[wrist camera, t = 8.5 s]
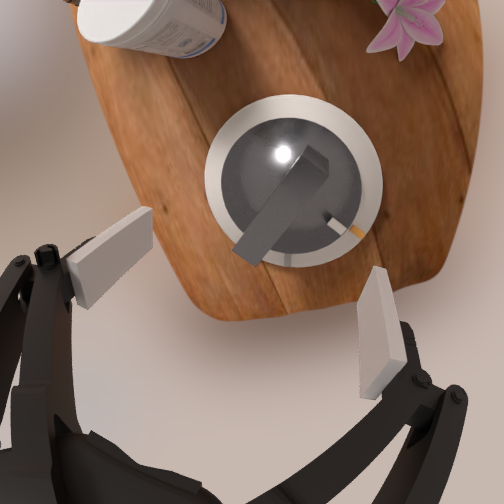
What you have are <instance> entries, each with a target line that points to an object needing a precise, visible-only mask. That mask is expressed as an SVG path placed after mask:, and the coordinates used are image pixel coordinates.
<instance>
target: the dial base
mask: <svg viewBox="0 0 504 504" xmlns="http://www.w3.org/2000/svg"><path fill="white" fill-rule="evenodd" d="M277 118H300V119H306V120H309V121H312V122H316V123H318V124H320V125H322V126H324V127H326V128H327V129H329V130H330V131H332V132H333V133H334V134H336V135H337V136H338V137H339V138H340V139H341V140H342V141H343V142H344V143H345V145H346V146H347V147H348V149H349V150H350V152H351V153H352V155H353V157H354V159H355V161H356V163H357V165H358V169H359V172H360V177H361V183H362V194H361V202H360V206H359V210H358V212H357V214H356V217H355V219H354V220H353V222H352V224H351V226H350V227H349V228H348V229H347V231H346V232H345V233H344V234H343V235H342V236H341V237H340V238H339V239H337V240H336V241H335V242H333V243H332V244H330V245H328V246H326V247H324V248H322V249H319V250H317V251H313V252H309V253H302V254H288V253H281V252H276V251H273V250H269V251H268V253H267V254H266V255H265V256H264V257H263V259H262V260H263V261H266V262H269V263H272V264H275V265H280V266H284V267H310V266H315V265H320V264H323V263H327V262H330V261H332V260H334V259H336V258H339V257H340V256H342V255H344V254H345V253H347V252H348V251H350V250H351V249H352V248H353V247H355V246H356V245H357V244H358V243H359V242H360V241H361V240H362V239H363V238H364V237H365V235H366V234H367V232H368V231H369V230H370V228H371V226H372V224H373V223H374V221H375V219H376V216H377V214H378V211H379V208H380V204H381V199H382V190H383V180H382V170H381V166H380V161H379V158H378V156H377V153H376V150H375V148H374V146H373V144H372V142H371V141H370V139H369V137H368V136H367V134H366V133H365V132H364V130H363V129H362V128H361V127H360V126H359V125H358V124H357V122H356V121H355V120H354V119H353V118H351V117H350V116H349V115H347V114H346V113H345V112H344V111H342V110H341V109H339V108H337V107H335V106H334V105H332V104H330V103H327V102H325V101H322V100H320V99H317V98H313V97H309V96H303V95H293V94H292V95H277V96H272V97H267V98H264V99H261V100H258V101H255V102H253V103H251V104H249V105H247V106H245V107H244V108H242V109H241V110H239V111H238V112H236V113H235V114H234V115H233V116H232V117H231V118H230V119H228V120H227V121H226V123H225V124H224V125H223V126H222V127H221V129H220V130H219V132H218V133H217V135H216V136H215V138H214V140H213V142H212V144H211V147H210V149H209V152H208V156H207V160H206V166H205V188H206V195H207V199H208V202H209V205H210V208H211V210H212V213H213V215H214V217H215V219H216V220H217V222H218V224H219V225H220V227H221V228H222V230H223V231H224V232H225V233H226V234H227V236H228V237H229V238H230V239H231V240H232V241H233V242H234V243H237V242H238V240H239V239H240V238H241V236H242V235H243V232H242V231H241V230H240V229H239V228H238V227H237V226H236V225H235V223H234V222H233V220H232V219H231V217H230V215H229V214H228V211H227V209H226V207H225V204H224V201H223V197H222V191H221V175H222V169H223V165H224V162H225V159H226V156H227V154H228V153H229V151H230V149H231V147H232V146H233V145H234V143H235V142H236V141H237V140H238V139H239V138H240V137H241V136H242V135H243V134H244V133H245V132H247V131H248V130H249V129H251V128H252V127H254V126H256V125H258V124H260V123H263V122H265V121H268V120H272V119H277Z"/></svg>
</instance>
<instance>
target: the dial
mask: <svg viewBox="0 0 504 504" xmlns="http://www.w3.org/2000/svg"><path fill="white" fill-rule="evenodd" d="M221 191H222V197H223V201H224V204H225V207H226V209H227V211H228V214H229V215H230V217H231V219H232V220H233V222H234V223H235V225H236V226H237V227H238V228H239V229H240V230H241V231H242V232H243V235H242V236H241V238H240V239H239V240H238V242H237V243H236V245H235V246H234V248H233V249H232V251H233V252H235V253H236V254H238V255H239V256H240V257H242V258H243V259H245V260H246V261H248V262H249V263H250V264H252V265H253V266H255V267H256V266H257V265H258V264H259V262H260V261H261V260H262V259H263V257H264V256H265V255H266V254H267V253H268V251H269V250H273V251H276V252H281V253H288V254H302V253H309V252H313V251H317V250H319V249H322V248H324V247H326V246H328V245H330V244H332V243H333V242H335V241H336V240H337V239H339V238H340V237H341V236H342V235H343V234H344V233H345V232H346V231H347V229H348V228H349V227H350V226H351V224H352V222H353V220H354V219H355V217H356V214H357V212H358V210H359V206H360V202H361V194H362V183H361V177H360V172H359V169H358V165H357V163H356V161H355V159H354V157H353V155H352V153H351V152H350V150H349V149H348V147H347V146H346V145H345V143H344V142H343V141H342V140H341V139H340V138H339V137H338V136H337V135H336V134H334V133H333V132H332V131H330V130H329V129H327V128H326V127H324V126H322V125H320V124H318V123H316V122H312V121H309V120H306V119H300V118H277V119H272V120H268V121H265V122H263V123H260V124H258V125H256V126H254V127H252V128H251V129H249V130H248V131H247V132H245V133H244V134H243V135H242V136H241V137H240V138H239V139H238V140H237V141H236V142H235V143H234V145H233V146H232V147H231V149H230V151H229V153H228V154H227V156H226V159H225V162H224V165H223V169H222V175H221Z"/></svg>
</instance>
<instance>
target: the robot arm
mask: <svg viewBox="0 0 504 504" xmlns="http://www.w3.org/2000/svg"><path fill="white" fill-rule="evenodd" d="M152 239H153V238H152V208H149V207H144V206H141V207H140V208H139V209H136V210H135V211H133V212H132V213H130V214H129V215H128V216H126V217H124V218H123V219H121V220H120V221H118V222H117V223H115V224H114V225H112V226H111V227H109V228H108V229H106V230H105V231H103V232H102V233H101V234H99V235H98V236H95V237H92V238H90V239H87V240H86V241H84V242H83V243H82V244H81V245H79V246H77V247H76V249H73V250H72V251H70V252H69V253H68V254H66V255H65V256H64V257H63V258H61V259H60V257H59V252H58V247H57V246H56V245H53V244H46V245H43V246H41V247H39V248H38V249H36V251H35V252H34V254H35V258H36V262H37V265H33V264H31V260H30V257H29V256H27V255H20V256H17V257H16V258H14V259H13V260H12V261H11V262H10V264H9V265H8V266H7V268H6V269H5V271H4V272H3V274H2V275H1V277H0V425H1V422H2V419H3V415H4V412H5V408H6V403H7V399H8V395H9V392H10V388H11V384H12V381H13V378H14V374H15V371H16V368H17V365H18V362H19V359H20V356H21V365H20V379H19V385H18V386H13V388H12V391H11V442H12V448H7V449H3V450H0V504H222V503H221V501H220V500H219V499H218V498H217V497H216V496H215V495H213V494H212V493H211V492H209V491H208V490H207V489H205V488H203V487H202V482H200V481H197V480H194V479H191V478H188V477H186V476H183V475H180V474H178V473H175V472H173V471H168V470H163V469H157V468H153V467H147V466H143V465H140V464H138V463H136V462H135V461H134V460H133V459H131V458H130V457H129V456H128V455H127V454H126V453H124V452H123V451H122V450H121V449H120V448H119V447H118V446H116V445H115V444H113V443H112V442H110V441H109V440H107V439H105V438H103V437H102V436H100V435H98V434H97V433H95V432H93V431H92V430H91V431H90V433H89V435H87V434H83V433H82V430H81V427H80V425H79V423H78V420H77V415H76V407H75V398H74V387H73V375H72V351H71V350H72V349H71V348H72V347H71V325H72V302H71V299H72V298H73V297H74V296H75V297H76V301H77V304H78V305H79V306H81V307H83V308H85V309H87V310H88V309H89V308H90V307H91V306H92V305H93V304H94V303H95V302H96V301H97V300H98V299H99V298H100V297H101V296H102V295H103V294H104V293H105V292H106V291H107V290H108V289H109V288H110V287H111V286H112V285H114V284H115V283H116V282H117V281H118V280H119V279H120V278H121V277H122V276H123V275H124V274H125V273H126V272H127V271H128V270H129V269H130V268H131V267H132V266H133V265H134V264H136V263H137V262H138V261H139V260H140V259H141V258H142V257H143V256H144V255H145V254H146V253H147V252H149V251H150V250H151V249H152V248H153V240H152ZM19 293H20V298H19V300H18V294H19ZM357 316H358V334H359V359H360V398H364V399H371V400H376V399H377V397H378V396H379V395H380V394H381V393H382V400H381V401H380V402H379V403H378V404H377V405H376V406H375V407H374V408H373V409H372V410H371V411H370V412H369V413H368V414H367V415H366V416H365V417H364V418H363V419H362V420H361V421H360V422H359V423H358V424H356V425H355V426H354V427H353V428H352V429H351V430H350V431H349V432H347V433H346V434H345V435H344V436H343V437H342V438H341V439H339V440H338V441H337V442H336V443H335V444H334V445H332V446H331V447H330V448H328V449H327V450H326V451H325V452H323V454H321V455H320V456H318V457H317V458H316V459H314V460H313V461H312V462H311V463H309V464H308V465H306V466H305V467H304V468H302V469H301V470H299V471H298V472H297V473H295V474H294V475H292V476H291V477H289V478H288V479H286V480H285V481H283V482H282V483H280V484H279V485H277V486H275V487H273V488H272V489H270V490H268V491H267V492H265V493H263V494H262V495H260V496H258V497H257V498H255V499H253V500H251V501H250V502H248V503H246V504H326V503H328V502H329V501H330V500H331V499H332V498H334V497H335V496H336V495H337V494H338V493H340V492H341V491H342V490H343V489H344V488H345V487H346V486H347V485H349V484H350V483H351V482H352V481H353V480H354V479H355V478H356V477H357V476H358V475H359V474H360V473H361V472H362V471H363V470H364V469H365V468H366V467H367V466H368V465H369V464H370V463H371V462H372V461H373V460H374V459H375V458H376V457H377V456H378V455H379V454H380V453H381V451H383V449H384V448H385V447H386V446H387V445H388V444H389V443H390V441H392V439H393V438H394V437H395V436H396V434H397V433H398V432H399V431H400V430H401V429H402V427H403V426H404V425H405V424H407V425H409V426H411V428H410V431H409V433H408V435H407V438H406V440H405V442H404V445H403V447H402V449H401V451H400V453H399V455H398V457H397V459H396V461H395V463H394V465H393V467H392V469H391V471H390V473H389V475H388V477H387V478H386V480H385V482H384V484H383V486H382V487H381V489H380V491H379V492H378V494H377V496H376V497H375V499H374V501H373V502H372V504H438V503H439V501H440V499H441V496H442V494H443V491H444V489H445V486H446V483H447V481H448V478H449V475H450V472H451V469H452V466H453V463H454V459H455V456H456V452H457V449H458V446H459V442H460V438H461V434H462V430H463V426H464V421H465V416H466V411H467V406H468V396H467V394H466V392H465V391H464V389H463V388H461V387H460V386H458V385H450V386H449V387H448V388H447V389H446V390H443V389H441V388H439V387H437V386H435V385H433V384H432V379H431V377H430V375H429V374H428V373H427V372H426V371H424V370H423V369H421V364H420V359H419V354H418V350H417V347H416V341H415V337H414V333H413V330H412V329H411V327H410V325H409V324H408V323H406V322H402V321H399V318H398V314H397V309H396V305H395V301H394V297H393V293H392V289H391V285H390V281H389V278H388V274H387V271H386V269H385V268H381V267H377V266H373V268H372V271H371V273H370V275H369V278H368V280H367V282H366V284H365V287H364V289H363V291H362V293H361V295H360V298H359V300H358V302H357ZM21 353H22V354H21ZM0 448H1V442H0Z"/></svg>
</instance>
